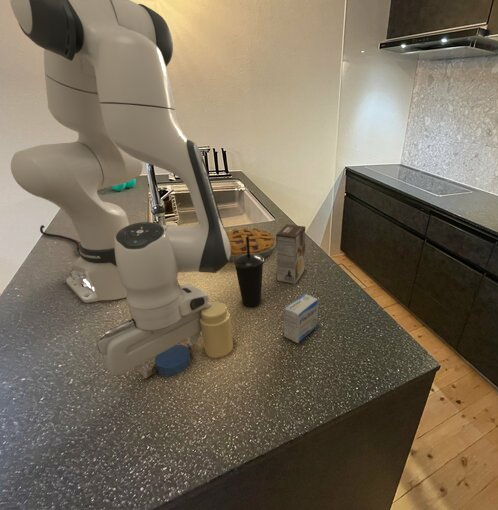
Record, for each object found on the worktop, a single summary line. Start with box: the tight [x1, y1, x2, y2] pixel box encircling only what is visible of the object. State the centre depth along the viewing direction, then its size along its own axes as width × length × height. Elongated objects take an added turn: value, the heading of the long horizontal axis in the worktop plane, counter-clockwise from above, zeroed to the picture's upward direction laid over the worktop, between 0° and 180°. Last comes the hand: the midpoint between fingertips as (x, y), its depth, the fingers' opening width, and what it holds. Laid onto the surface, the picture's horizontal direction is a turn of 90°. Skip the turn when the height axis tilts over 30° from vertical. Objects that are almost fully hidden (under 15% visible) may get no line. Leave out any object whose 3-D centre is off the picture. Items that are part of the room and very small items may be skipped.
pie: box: [225, 227, 276, 262], centre depth 111 cm, size 22×22×5 cm
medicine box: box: [283, 293, 319, 344], centre depth 74 cm, size 8×4×9 cm, turn 148°
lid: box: [154, 344, 192, 376], centre depth 64 cm, size 6×6×2 cm
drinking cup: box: [232, 237, 265, 309], centre depth 80 cm, size 8×8×20 cm
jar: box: [200, 301, 234, 359], centre depth 67 cm, size 6×6×11 cm
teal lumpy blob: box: [109, 178, 137, 192], centre depth 161 cm, size 10×10×10 cm
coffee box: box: [275, 223, 306, 284], centre depth 96 cm, size 9×6×16 cm
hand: (171, 360), depth 64 cm, fingers open, 8 cm apart
